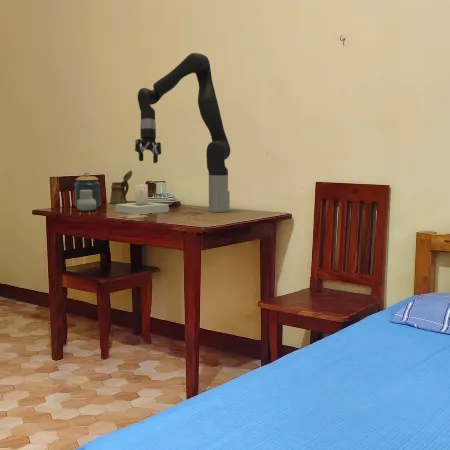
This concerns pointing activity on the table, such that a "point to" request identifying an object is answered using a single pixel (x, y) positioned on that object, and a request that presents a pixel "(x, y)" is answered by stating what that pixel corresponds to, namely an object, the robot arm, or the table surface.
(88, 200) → the air freshener
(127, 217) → the cork coaster
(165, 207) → the board
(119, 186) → the wooden mug
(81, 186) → the canister
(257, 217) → the table surface
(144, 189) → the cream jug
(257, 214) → the table surface
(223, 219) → the table surface
